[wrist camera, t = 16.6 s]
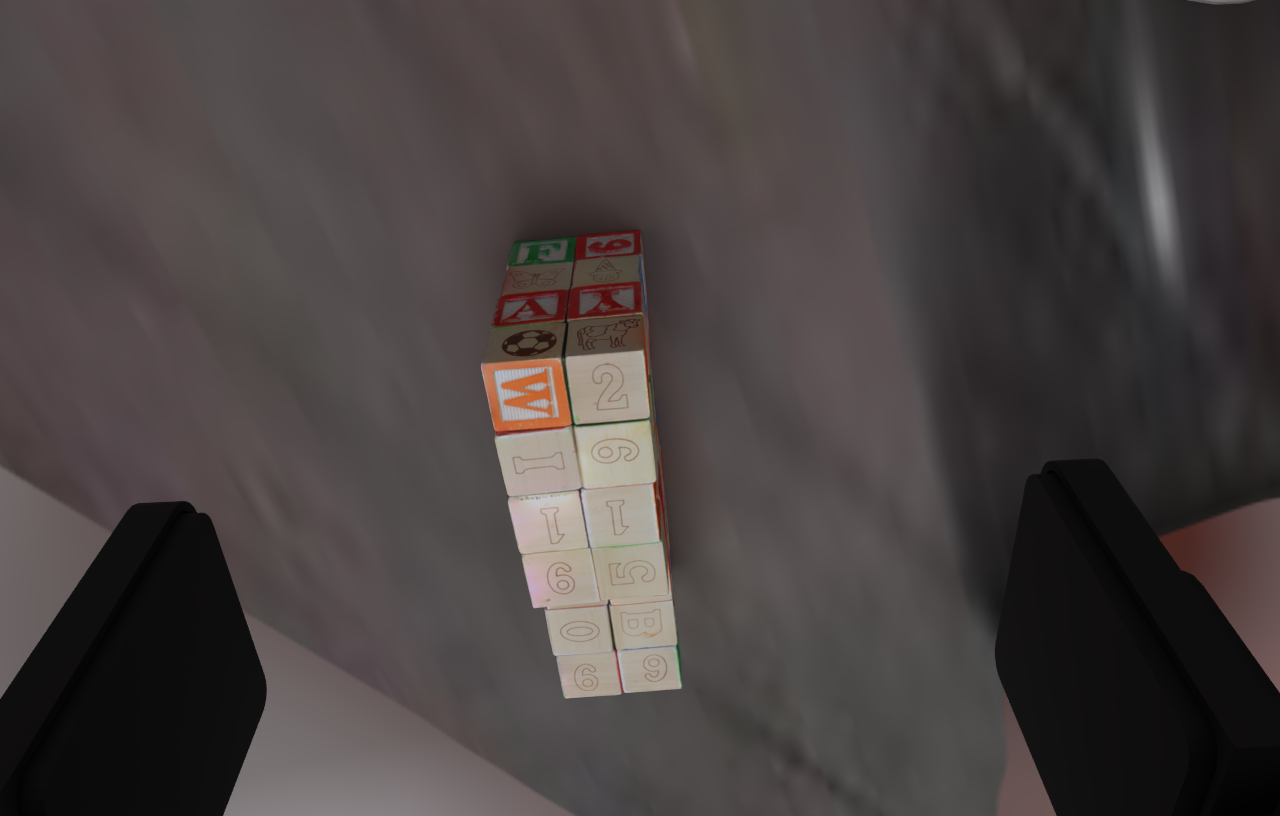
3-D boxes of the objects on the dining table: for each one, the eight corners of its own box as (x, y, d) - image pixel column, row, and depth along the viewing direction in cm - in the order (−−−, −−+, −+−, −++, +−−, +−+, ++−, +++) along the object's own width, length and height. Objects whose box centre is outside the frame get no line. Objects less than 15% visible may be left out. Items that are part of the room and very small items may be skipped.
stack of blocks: (674, 570, 59) (685, 740, 49) (568, 578, 60) (556, 749, 49) (641, 225, 48) (645, 350, 38) (509, 238, 48) (478, 365, 38)
